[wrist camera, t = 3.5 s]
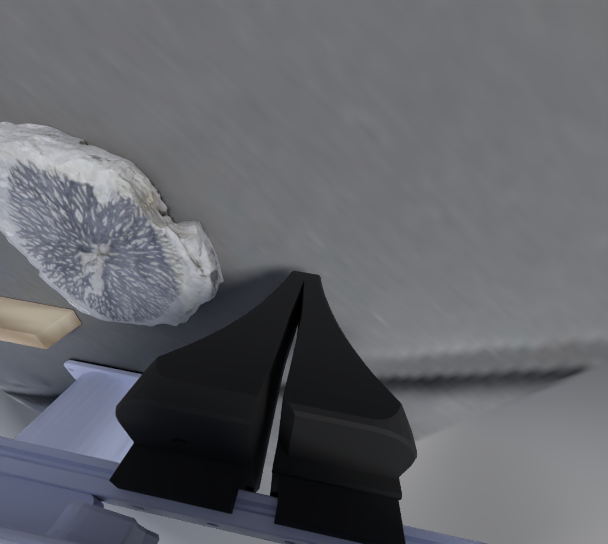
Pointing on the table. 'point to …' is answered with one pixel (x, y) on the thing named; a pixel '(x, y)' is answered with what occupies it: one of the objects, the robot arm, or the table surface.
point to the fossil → (100, 230)
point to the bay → (34, 323)
